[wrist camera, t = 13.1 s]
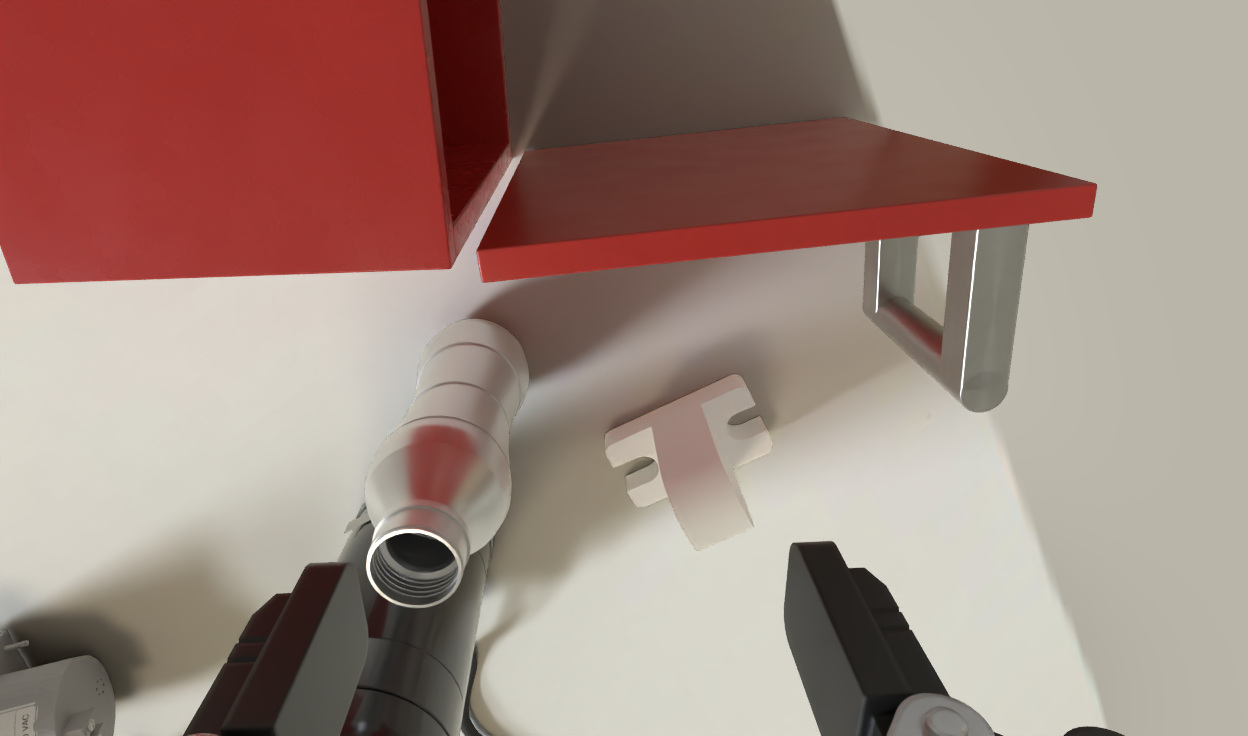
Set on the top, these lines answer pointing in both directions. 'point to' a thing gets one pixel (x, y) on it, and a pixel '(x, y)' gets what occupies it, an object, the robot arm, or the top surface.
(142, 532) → the top surface
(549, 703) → the top surface
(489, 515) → the plastic bottle
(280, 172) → the red upright rectangular box
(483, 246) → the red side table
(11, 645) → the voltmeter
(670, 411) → the cable organizer
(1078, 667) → the top surface
